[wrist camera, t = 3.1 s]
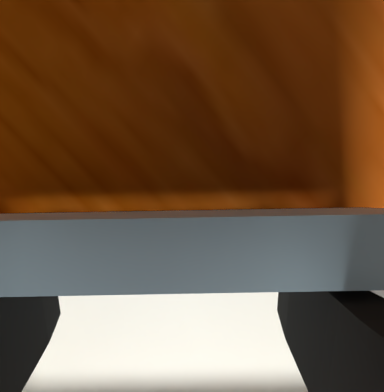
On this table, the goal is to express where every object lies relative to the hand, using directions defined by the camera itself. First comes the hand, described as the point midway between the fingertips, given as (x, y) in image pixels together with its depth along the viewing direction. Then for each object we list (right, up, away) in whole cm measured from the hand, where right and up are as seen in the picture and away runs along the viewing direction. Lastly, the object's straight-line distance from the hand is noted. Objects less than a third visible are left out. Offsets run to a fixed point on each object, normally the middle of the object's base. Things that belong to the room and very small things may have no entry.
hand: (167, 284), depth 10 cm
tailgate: (0, +1, +1) cm, 1 cm away
